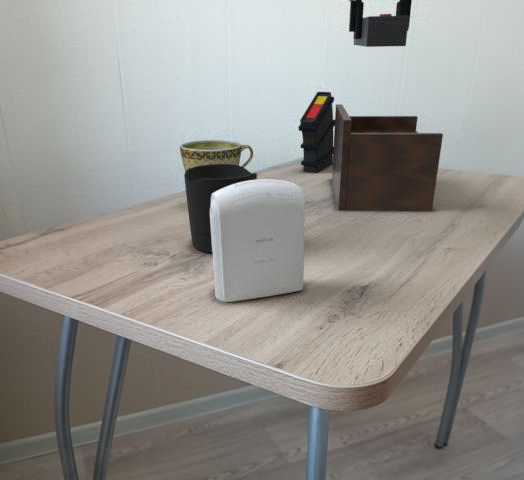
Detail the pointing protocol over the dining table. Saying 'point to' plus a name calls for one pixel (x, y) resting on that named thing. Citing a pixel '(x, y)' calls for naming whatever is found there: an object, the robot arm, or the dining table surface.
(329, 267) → the dining table surface
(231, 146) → the ceramic cup
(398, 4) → the robot arm
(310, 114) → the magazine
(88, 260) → the dining table surface
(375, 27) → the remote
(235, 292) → the photo printer
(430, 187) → the wooden storage bin
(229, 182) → the pen holder
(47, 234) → the dining table surface
